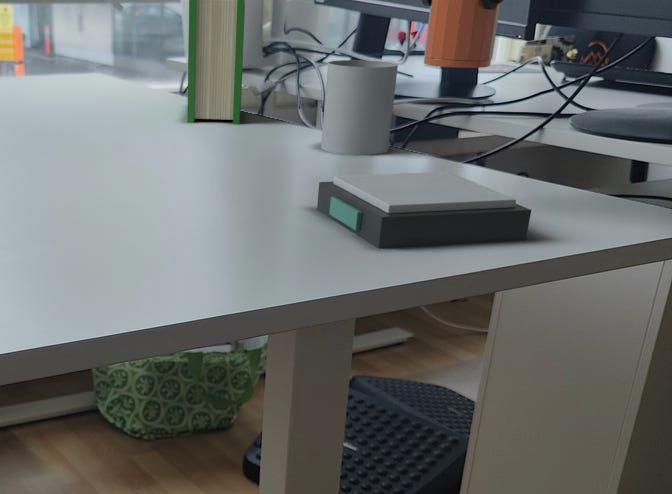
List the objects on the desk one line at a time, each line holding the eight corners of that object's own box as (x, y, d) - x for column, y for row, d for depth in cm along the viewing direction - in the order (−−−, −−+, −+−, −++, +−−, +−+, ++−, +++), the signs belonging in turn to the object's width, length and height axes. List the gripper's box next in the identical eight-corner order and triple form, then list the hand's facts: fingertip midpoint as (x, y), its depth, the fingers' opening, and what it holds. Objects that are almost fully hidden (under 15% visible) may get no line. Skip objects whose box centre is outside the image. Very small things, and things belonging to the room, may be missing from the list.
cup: (315, 153, 118) (322, 65, 113) (326, 142, 125) (333, 59, 120) (383, 158, 116) (393, 68, 111) (391, 147, 123) (401, 62, 118)
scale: (447, 205, 95) (453, 169, 93) (525, 242, 83) (533, 201, 81) (312, 212, 91) (315, 174, 90) (373, 251, 80) (378, 208, 78)
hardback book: (239, 125, 136) (246, -71, 124) (187, 124, 136) (190, -72, 124) (240, 107, 151) (247, -69, 139) (194, 106, 152) (197, -70, 140)
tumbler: (469, 61, 92) (485, -48, 87) (502, 67, 87) (521, -47, 82) (412, 61, 90) (425, -49, 86) (442, 68, 85) (458, -48, 81)
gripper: (639, -117, 84) (535, 38, 83) (499, -111, 93) (405, 28, 92) (622, -198, 78) (511, -32, 77) (475, -183, 88) (375, -36, 87)
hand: (454, 0), depth 85 cm, fingers closed on tumbler, 6 cm apart
